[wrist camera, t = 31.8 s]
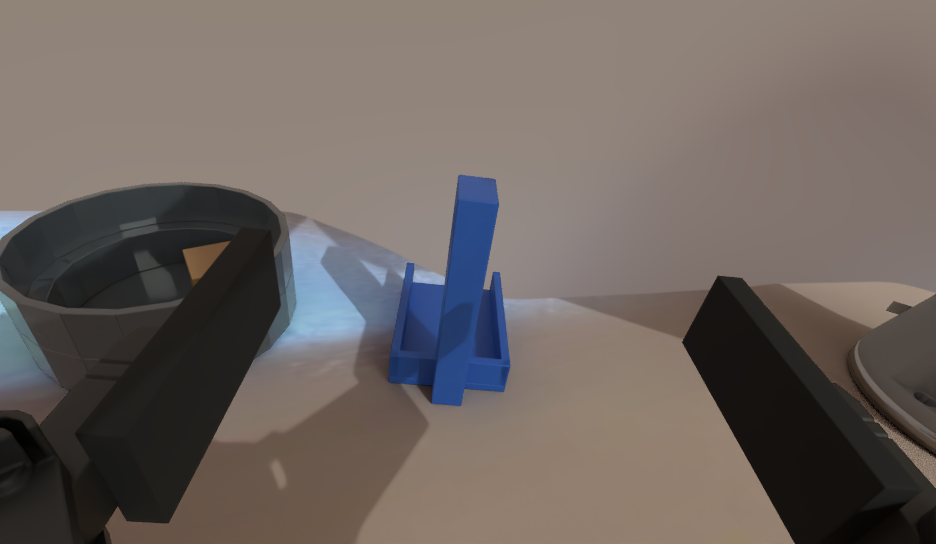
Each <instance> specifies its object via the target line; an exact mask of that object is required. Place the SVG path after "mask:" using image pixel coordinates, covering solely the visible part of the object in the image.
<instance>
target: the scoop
mask: <svg viewBox="0 0 936 544" xmlns="http://www.w3.org/2000/svg"><path fill="white" fill-rule="evenodd" d="M498 207H499V201H498V194H497V187H496V180H495V179H490V178H482V177H474V176H465V175H459V176H458V183H457V191H456V199H455V207H454V214H453V222H452V230H451V238H450V246H449V254H448V261H447V269H446V277H445V285H435V284H425V283H415V282H413V273H414V263H407V267H406V272H405V278H404V283H403V289H402V294H401V299H400V305H399V310H398V315H397V321H396V326H395V332H394V337H393V342H392V348H391V353H390V366H389V382H392V383H404V384H416V385H428V386H432V398H431V403H432V404H444V405H457V406H461V403H462V398H463V392H464V389H475V390H487V391H499V392H504V389H505V385H506V381H507V377H508V373H509V370H510V359H509V350H508V341H507V332H506V323H505V314H504V305H503V297H502V288H501V279H500V273H499V272H493V276H492V280H491V286H490V290H483V286H484V281H485V275H486V270H487V264H488V260H489V254H490V249H491V244H492V238H493V233H494V227H495V223H496V217H497V211H498Z"/></svg>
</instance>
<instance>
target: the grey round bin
mask: <svg viewBox="0 0 936 544" xmlns="http://www.w3.org/2000/svg"><path fill="white" fill-rule="evenodd" d="M242 227H249V228H259V229H268V230H271V236H272V243H273V250H274V257H275V265H276V272H277V279H278V286H279V293H280V300H281V308H280V310H279V311H278V313H277V315H276V317H275V319H274V321H273V323H272V325H271V327H270V329H269V331H268V333H267V335H266V337H265V338H264V340H263V342H262V344H261V346H260V348H259V350H258V352H257V354H256V356H255V358H257V357H258V356H259V355H261V354H262V353H264V352H265V351H267V350H268V349H270V347H271V346H272V345H273V344H274V343H275V342H276V340H277V339H278V338H279V337H280V336H281V334H282V333H283V332H284V331H285V330H286V328H287V327H288V326H289V324H290V322H291V319H292V316H293V312H294V309H295V306H296V294H295V285H294V275H293V266H292V257H291V247H290V238H289V230H288V226H287V223H286V219H285V215H284V214H283V213H282V212H281V211H280V210H279V209H278V208H277V207H275V206H274V205H273V204H272V203H271V202H270V201H268V200H266V199H264V198H262V197H259V196H257V195H255V194H253V193H250V192H248V191H245V190H240V189H236V188H231V187H226V186H222V185H216V184H202V183H187V182H184V183H183V182H180V183H179V182H178V183H158V184H143V185H137V186H131V187H124V188H118V189H112V190H106V191H102V192H98V193H95V194H92V195H88V196H84V197H81V198H77V199H74V200H70V201H67V202H64V203H62V204H60V205H57V206H55V207H53V208H50V209H48V210H46V211H44V212H41V213H39V214H37V215H35V216H32V217H30V218H28V219H27V220H26V221H24V222H23V223H21V224H20V225H19V226H17V227H16V228H15V229H13V230H12V231H10V232H9V233H8V234H6V235H5V236H3V237H2V238H1V240H0V301H1V303H2V304H3V306H4V308H5V310H6V311H7V313H8V315H9V316H10V318H11V320H12V322H13V323H14V325H15V327H16V329H17V330H18V332H19V334H20V335H21V337H22V339H23V341H24V342H25V344H26V346H27V348H28V349H29V351H30V353H31V355H32V356H33V358H34V360H35V362H36V363H37V365H38V367H39V368H40V369H41V370H42V371H43V372H45V373H46V374H47V375H48V376H50V377H51V378H52V379H53V380H54V381H56V382H57V383H58V384H59V385H60V386H62V387H64V388H67V389H71V390H72V388H73V387H74V386H75V385H76V384H77V383H78V382H79V381H80V380H81V378H82V379H84V378H85V374H86V373H87V372H88V371H89V370H90V369H91V367H92V366H93V365H94V364H95V363H98V362H99V359H100V357H101V356H102V355H103V354H104V353H105V352H106V351H107V350H108V349H109V347H110V346H111V345H112V344H113V343H114V342H115V341H116V340H117V339H119V338H120V337H122V336H124V335H125V334H127V333H128V332H130V331H131V330H133V329H135V328H136V327H138V326H139V325H144V326H156V327H161V326H162V325H163V324H164V323H165V321H166V320H167V319H168V318H169V316H170V315H171V314H172V313H173V311H174V310H175V309H176V308H177V307H178V305H179V304H180V303H181V302H182V300H183V299H184V298H185V297H186V296H187V294H188V293H189V292H190V291H191V289H192V285H191V281H190V277H189V273H188V270H187V266H186V262H185V258H184V255H183V251H182V250H184V249H189V248H195V247H200V246H206V245H211V244H217V243H222V242H228V241H231V240H232V239H233V238H234V236H235V235H236V234H237V233H238V232H239V230H240V229H241V228H242ZM255 358H254V359H255Z"/></svg>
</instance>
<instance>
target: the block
mask: <svg viewBox="0 0 936 544" xmlns="http://www.w3.org/2000/svg"><path fill="white" fill-rule="evenodd" d="M229 243H230V241H228V242H222V243H217V244H211V245H206V246H200V247H195V248H189V249H184V250H182V251H183V255H184V258H185V262H186V266H187V270H188V273H189V277H190V281H191V285H192V288H193V287H194V286H195V284H196V283H197V282H198V281H199V280H200V278H201V277H202V276H203V275H204V273H205V272H206V271H207V270H208V268H209V267H210V266H211V265H212V264H213V262H214V261H215V260H216V259H217V257H218V256H219V255H220V254H221V252H222V251H223V250H224V249H225V248H226V246H227V245H228V244H229Z"/></svg>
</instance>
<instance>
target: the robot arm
mask: <svg viewBox="0 0 936 544" xmlns="http://www.w3.org/2000/svg"><path fill="white" fill-rule="evenodd" d="M280 308H281V300H280V293H279V286H278V279H277V272H276V265H275V257H274V250H273V243H272V236H271V230H268V229H259V228H249V227H242V228H241V229H240V230H239V232H238V233H237V234H236V235H235V236H234V238H233V239H232V240H231V241H230V243H229V244H228V245H227V246H226V248H225V249H224V250H223V251H222V252H221V254H220V255H219V256H218V257H217V259H216V260H215V261H214V262H213V264H212V265H211V266H210V267H209V268H208V270H207V271H206V272H205V273H204V275H203V276H202V277H201V278H200V280H199V281H198V282H197V283H196V284H195V286H194V287H193V288H192V289H191V291H190V292H189V293H188V294H187V296H186V297H185V298H184V299H183V300H182V302H181V303H180V304H179V305H178V307H177V308H176V309H175V310H174V311H173V313H172V314H171V315H170V316H169V318H168V319H167V320H166V321H165V323H164V324H163V325H162V326H161V327H156V326H144V325H139V326H138V327H136V328H135V329H133V330H131V331H130V332H128V333H127V334H125V335H124V336H122V337H120V338H119V339H117V340H116V341H115V342H114V343H113V344H112V345H111V346H110V347H109V349H108V350H107V351H106V352H105V353H104V354H103V355H102V356H101V357H100V359H99V362H98V363H95V364H94V365H93V366H92V367H91V369H90V370H89V371H88V372H87V373H86V374H85V378H84V379H82V378H81V380H80V381H79V382H78V383H77V384H76V385H75V386H74V387H73V388H72V390H71V391H70V392H69V393H68V394H67V395H66V396H65V397H64V398H63V400H62V401H61V402H60V403H59V404H58V405H57V406H56V407H55V408H54V410H53V411H52V412H51V413H50V414H49V415H48V416H47V417H46V418H45V420H44V421H43V422H42V423H41V424H40V425H39V426H38V424H37V423H36V421H35V420H34V418H33V417H32V415H29V414H27V413H24V412H21V411H19V410H16V411H0V544H112V543H111V539H110V534H109V532H108V530H107V529H106V527H105V525H106V524H107V522H108V520H109V519H110V517H111V516H112V514H113V512H114V511H115V509H116V508H117V506H118V507H119V509H120V510H121V512H122V514H123V515H124V517H125V519H126V520H127V521H133V522H152V523H169V521H170V519H171V518H172V516H173V514H174V512H175V510H176V508H177V506H178V504H179V502H180V500H181V498H182V496H183V494H184V492H185V491H186V489H187V487H188V485H189V483H190V481H191V479H192V477H193V475H194V473H195V471H196V469H197V467H198V466H199V464H200V462H201V460H202V458H203V456H204V454H205V452H206V450H207V448H208V446H209V444H210V442H211V440H212V439H213V437H214V435H215V433H216V431H217V429H218V427H219V425H220V423H221V421H222V419H223V417H224V415H225V414H226V412H227V410H228V408H229V406H230V404H231V402H232V400H233V398H234V396H235V394H236V392H237V390H238V388H239V387H240V385H241V383H242V381H243V379H244V377H245V375H246V373H247V371H248V369H249V367H250V365H251V363H252V362H253V360H254V358H255V356H256V354H257V352H258V350H259V348H260V346H261V344H262V342H263V340H264V338H265V337H266V335H267V333H268V331H269V329H270V327H271V325H272V323H273V321H274V319H275V317H276V315H277V313H278V311H279V310H280ZM886 311H889V312H892V313H896V314H899V315H898V316H896V317H894V318H892V319H890V320H889V321H887V322H885V323H883V324H882V325H880V326H878V327H876V328H874V329H873V330H871V331H870V332H868V333H867V334H866V335H865V336H863V337H862V338H861V339H860V340H859V341H858V342H857V344H856V345H855V346H854V347H853V348H852V350H851V351H850V353H849V355H848V367H849V370H850V373H851V375H852V377H853V379H854V381H855V382H856V384H857V385H858V387H859V388H860V390H861V391H862V392H863V393H864V395H865V396H866V397H867V398H868V399H869V401H870V402H871V403H872V404H873V405H874V406H875V407H876V408H877V409H878V410H879V411H880V412H881V413H882V414H883V415H884V416H885V417H887V418H888V419H889V420H890V421H891V422H892V423H893V424H895V425H896V426H897V427H898V428H900V429H901V430H902V431H903V432H905V433H906V434H907V435H909V436H910V437H911V438H913V439H914V440H915V441H917V442H918V443H920V444H921V445H923V446H924V447H926V448H927V449H929V450H930V451H932V452H933V453H935V454H936V294H935V295H934V296H932V297H930V298H928V299H927V300H925V301H923V302H921V303H919V304H918V305H916V306H914V307H911V306H908V305H905V304H901V303H898V302H895V301H893V303H892V304H891V305H890V306H889V307H888V308H887V310H886ZM682 343H683V345H684V347H685V348H686V350H687V352H688V354H689V356H690V357H691V359H692V361H693V363H694V365H695V366H696V368H697V370H698V372H699V373H700V375H701V377H702V379H703V381H704V382H705V384H706V386H707V388H708V389H709V391H710V393H711V395H712V397H713V398H714V400H715V402H716V404H717V406H718V407H719V409H720V411H721V413H722V414H723V416H724V418H725V420H726V422H727V423H728V425H729V427H730V429H731V431H732V432H733V434H734V436H735V438H736V439H737V441H738V443H739V445H740V447H741V448H742V450H743V452H744V454H745V456H746V457H747V459H748V461H749V463H750V464H751V466H752V468H753V470H754V472H755V473H756V475H757V477H758V479H759V481H760V482H761V484H762V486H763V488H764V489H765V491H766V493H767V495H768V497H769V498H770V500H771V502H772V504H773V506H774V507H775V509H776V511H777V513H778V514H779V516H780V518H781V520H782V522H783V523H784V525H785V527H786V529H787V530H788V532H789V534H790V536H791V538H792V539H793V541H794V543H795V544H936V488H935V487H934V486H933V485H932V484H931V483H930V482H929V480H928V479H927V478H926V477H925V476H924V475H923V474H922V472H921V471H920V470H919V469H918V468H917V467H916V466H915V465H914V463H913V462H912V461H911V460H910V459H909V458H908V457H907V455H906V454H905V453H904V452H903V451H902V450H901V449H900V448H899V446H898V445H897V444H896V443H895V442H894V441H893V440H892V439H889V438H888V434H887V433H886V432H885V430H884V429H883V428H882V427H881V426H880V425H879V424H878V423H875V422H874V418H873V417H872V416H871V415H870V413H869V412H868V411H867V410H866V409H865V408H864V407H863V406H862V404H861V403H860V402H859V401H858V400H857V399H856V398H854V397H853V396H852V395H850V394H849V393H848V392H847V391H845V390H844V389H843V388H841V387H840V386H839V385H837V384H836V383H831V382H830V380H829V379H828V378H827V377H826V376H825V375H824V373H823V372H822V371H821V370H820V369H819V368H818V366H817V365H816V364H815V363H814V362H813V361H812V359H811V358H810V357H809V356H808V355H807V354H806V352H805V351H804V350H803V349H802V348H801V347H800V345H799V344H798V343H797V342H796V341H795V340H794V338H793V337H792V336H791V335H790V334H789V333H788V331H787V330H786V329H785V328H784V327H783V326H782V324H781V323H780V322H779V321H778V320H777V319H776V317H775V316H774V315H773V314H772V313H771V312H770V310H769V309H768V308H767V307H766V306H765V305H764V303H763V302H762V301H761V300H760V299H759V297H758V296H757V295H756V294H755V293H754V292H753V290H752V289H751V288H750V287H749V286H748V285H747V283H746V282H745V281H744V280H743V279H742V278H735V277H725V276H718V277H717V278H716V280H715V282H714V284H713V286H712V288H711V289H710V291H709V293H708V295H707V297H706V299H705V300H704V302H703V304H702V306H701V308H700V310H699V312H698V313H697V315H696V317H695V319H694V321H693V323H692V325H691V326H690V328H689V330H688V332H687V334H686V336H685V338H684V339H683V341H682Z"/></svg>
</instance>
